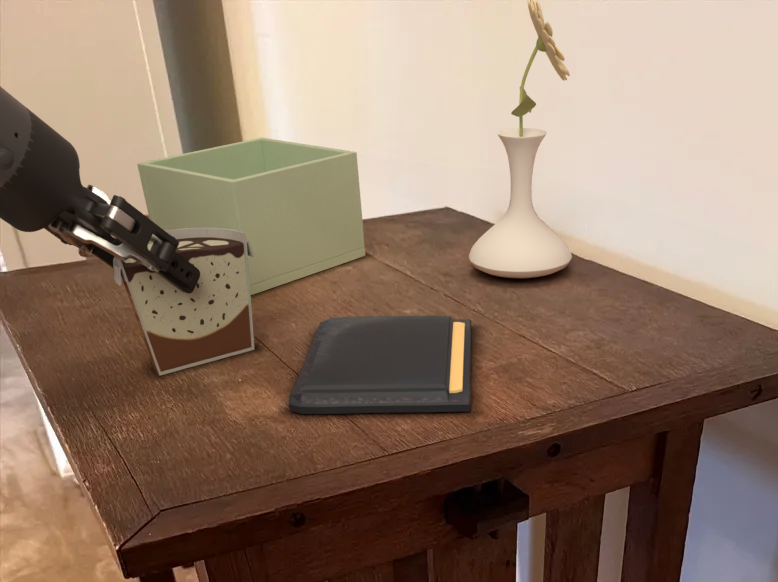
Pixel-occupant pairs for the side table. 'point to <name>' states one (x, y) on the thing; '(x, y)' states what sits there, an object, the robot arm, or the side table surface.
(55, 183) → the robot arm
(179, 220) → the bin
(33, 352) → the side table surface
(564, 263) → the flower in vase
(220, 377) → the side table surface
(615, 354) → the side table surface
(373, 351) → the wallet
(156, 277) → the food container
